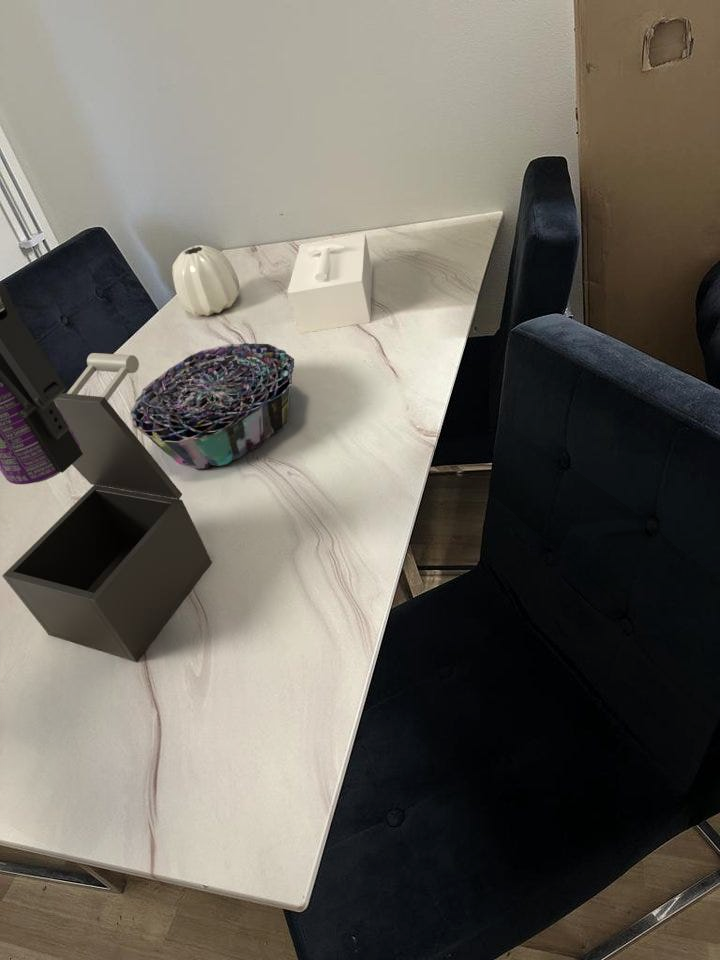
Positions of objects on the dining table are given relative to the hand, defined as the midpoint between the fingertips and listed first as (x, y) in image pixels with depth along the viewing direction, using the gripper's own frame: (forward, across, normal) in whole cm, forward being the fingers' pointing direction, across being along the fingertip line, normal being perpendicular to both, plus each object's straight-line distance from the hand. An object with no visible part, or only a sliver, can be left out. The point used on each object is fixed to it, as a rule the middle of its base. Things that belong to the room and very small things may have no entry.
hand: (40, 457), depth 62 cm
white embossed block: (+27, -16, +83) cm, 89 cm away
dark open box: (+26, -6, +3) cm, 27 cm away
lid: (+7, -6, +9) cm, 13 cm away
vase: (+27, -45, +79) cm, 95 cm away
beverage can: (+1, 0, 0) cm, 1 cm away
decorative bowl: (+27, -14, +38) cm, 48 cm away
